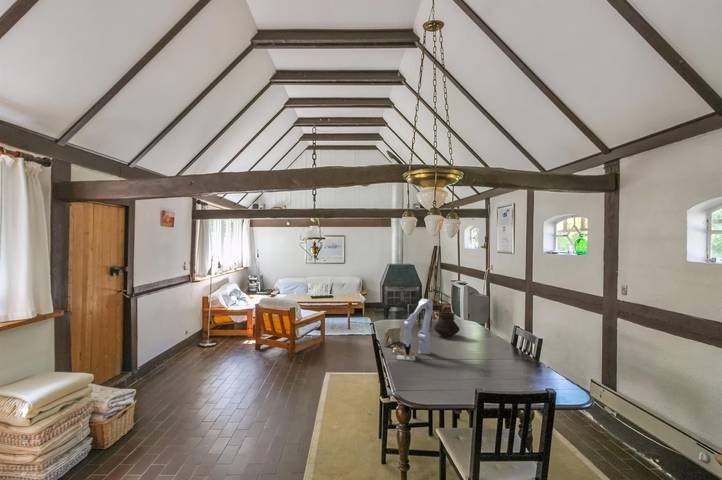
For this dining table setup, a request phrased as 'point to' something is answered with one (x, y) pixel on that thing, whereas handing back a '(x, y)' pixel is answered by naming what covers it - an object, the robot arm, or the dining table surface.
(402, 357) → the peg rack
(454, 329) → the ceramic pot
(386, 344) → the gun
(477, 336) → the dining table surface
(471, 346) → the dining table surface
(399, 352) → the nut plinth
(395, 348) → the ring nut
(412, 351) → the maple spanner
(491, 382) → the dining table surface
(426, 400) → the dining table surface
